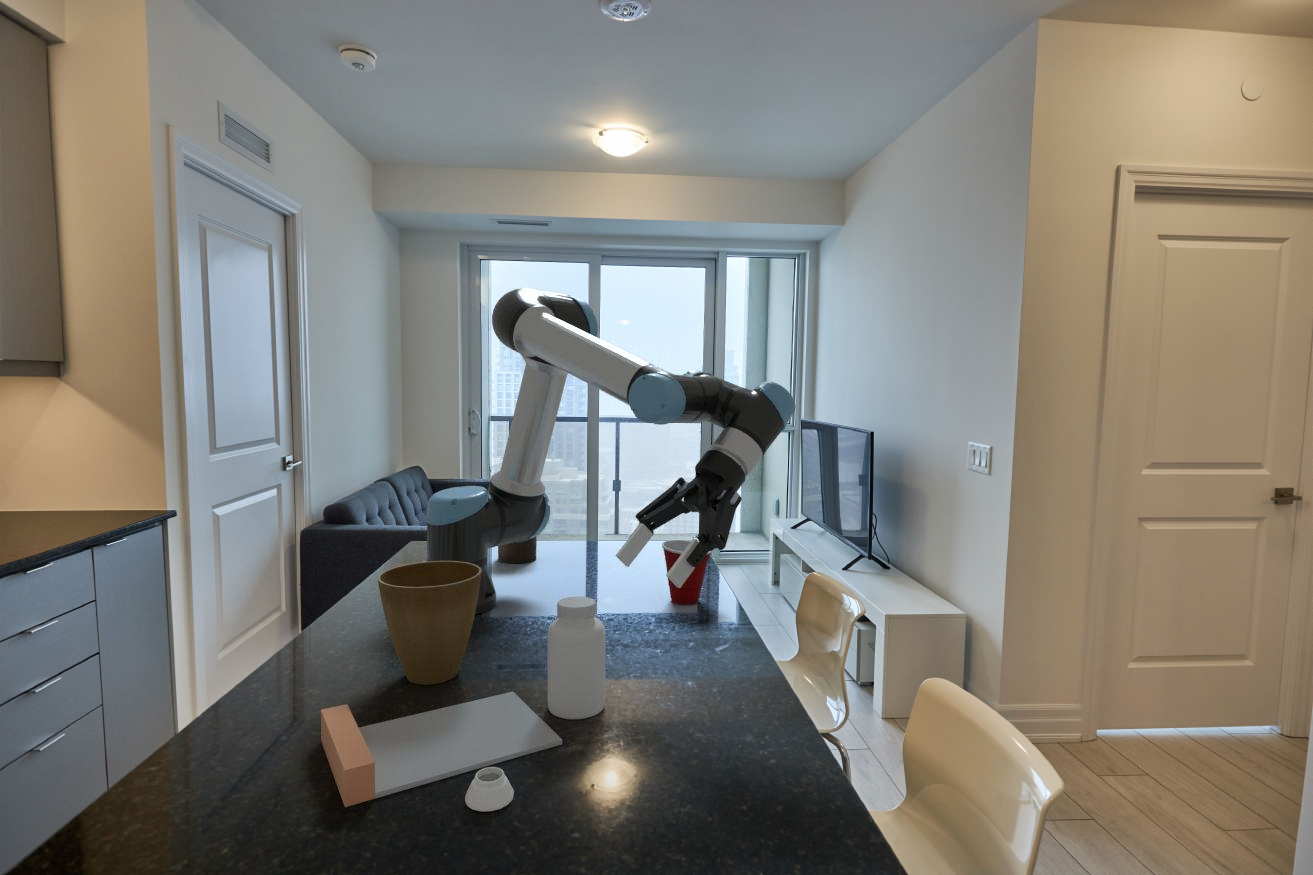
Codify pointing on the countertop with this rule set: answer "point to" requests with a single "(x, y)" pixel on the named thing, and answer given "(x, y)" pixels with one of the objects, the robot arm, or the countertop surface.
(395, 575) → the plant pot
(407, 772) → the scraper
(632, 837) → the countertop surface
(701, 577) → the plastic cup
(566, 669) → the pill bottle
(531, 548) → the pillar candle
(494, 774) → the lidless jar
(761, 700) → the countertop surface
